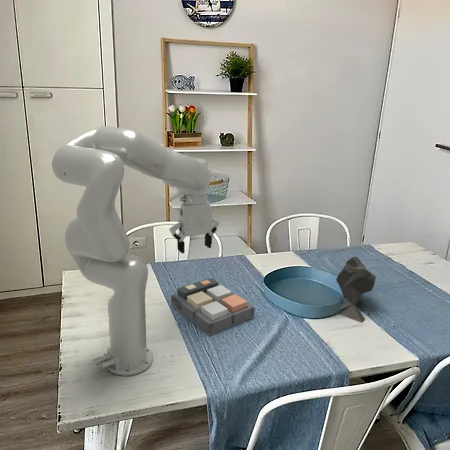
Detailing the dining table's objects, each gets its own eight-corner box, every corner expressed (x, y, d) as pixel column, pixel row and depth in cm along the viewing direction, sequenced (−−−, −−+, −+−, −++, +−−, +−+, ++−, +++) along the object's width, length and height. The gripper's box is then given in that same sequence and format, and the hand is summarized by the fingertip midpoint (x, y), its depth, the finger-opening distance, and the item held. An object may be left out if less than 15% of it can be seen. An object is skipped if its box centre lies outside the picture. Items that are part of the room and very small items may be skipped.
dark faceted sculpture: (379, 305, 153) (387, 258, 147) (362, 322, 142) (370, 272, 136) (341, 291, 161) (348, 247, 155) (322, 307, 150) (328, 259, 144)
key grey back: (217, 304, 144) (217, 296, 143) (206, 297, 148) (206, 289, 147) (231, 299, 147) (231, 291, 146) (220, 292, 152) (220, 285, 151)
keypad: (209, 336, 132) (209, 316, 130) (171, 305, 148) (171, 288, 146) (253, 317, 142) (254, 299, 140) (213, 291, 159) (214, 274, 156)
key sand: (197, 312, 139) (197, 303, 138) (186, 304, 143) (186, 296, 142) (212, 306, 142) (212, 298, 141) (201, 299, 147) (201, 291, 146)
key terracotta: (232, 315, 138) (232, 307, 137) (220, 307, 142) (221, 299, 141) (246, 309, 141) (247, 301, 140) (235, 302, 146) (235, 294, 145)
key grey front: (212, 323, 133) (212, 314, 132) (200, 314, 137) (201, 306, 136) (227, 317, 137) (227, 308, 136) (216, 309, 141) (216, 301, 140)
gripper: (175, 205, 128) (175, 258, 134) (225, 198, 137) (223, 248, 142) (164, 198, 134) (165, 250, 140) (213, 192, 143) (212, 241, 148)
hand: (194, 249), depth 141 cm, fingers open, 9 cm apart
